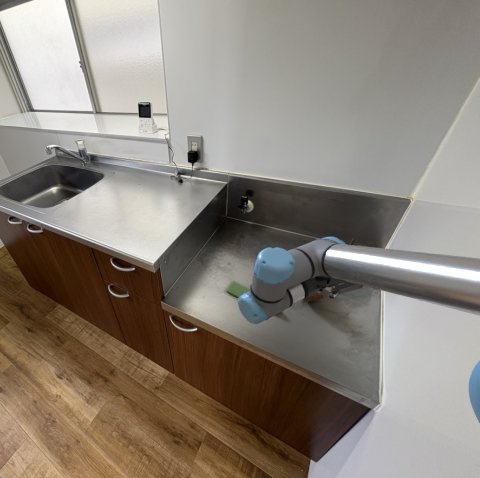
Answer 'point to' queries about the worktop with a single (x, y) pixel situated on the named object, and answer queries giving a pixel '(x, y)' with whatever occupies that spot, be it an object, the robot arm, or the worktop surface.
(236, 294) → the spatula
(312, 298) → the reddish brown tapered cylinder
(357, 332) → the worktop surface
